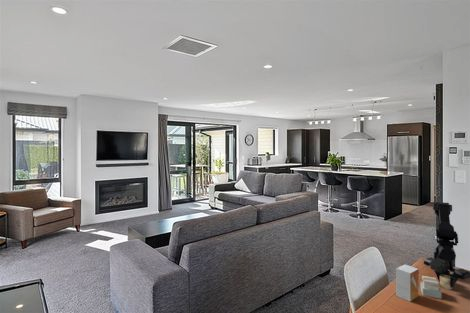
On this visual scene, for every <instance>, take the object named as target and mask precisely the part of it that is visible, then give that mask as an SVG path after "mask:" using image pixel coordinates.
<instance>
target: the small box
mask: <svg viewBox="0 0 470 313" xmlns="http://www.w3.org/2000/svg"><path fill="white" fill-rule="evenodd" d="M395 272H396V275H395V277H396V278H395V283H396V284H395V285H396V286H395V288H396V289H395V293H396V294H395V295H396V297H398V298H400V299H402V300H405V301H408V302H412V301H413V300H415V299H417V298H418V297H419V277H420V276H419V268H416V267H414V266H411V265H408V264H403V265H400V266H399V267H396V270H395Z"/></svg>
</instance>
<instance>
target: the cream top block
mask: <svg viewBox="0 0 470 313" xmlns="http://www.w3.org/2000/svg"><path fill="white" fill-rule="evenodd" d="M421 282H422V284H423V286H424V288H426V289H432V290H438V291H439V288H440V282H439V280H438V278H437V277H434V276H433V277H431V276H426V275H421Z"/></svg>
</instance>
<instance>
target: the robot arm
mask: <svg viewBox="0 0 470 313" xmlns="http://www.w3.org/2000/svg"><path fill="white" fill-rule="evenodd" d="M432 210H433V211H434V215H435V216H436V218H437V229H435V236H436V237H435V238H436V243H437V244H438V245H437V246H436V248H435V251H434V252H433V257H428V258H427V257H426V258H424V259H423V265H426V266H428V267H429V268H430V269H431V270H432V271H434V273H435V275H436V279H437V281H438V283H440V275H448V276H450V278H451V279H450V285H451V288H454V286H455V285H456V284H457V282H458V280H459V279H460V280H468V279H470V270H467V269H464V268H458V269H457V268H456V260H457V259H456V257H457V255H456V252H455V251H456V250H455V249H454V247H455V246H458V244H459V234H458V232H457V231H455V227H454V225H452V224H451V220H450V218H451V217H450V215H451V212H453V204H451V203H449V202H443V201H442V202H440V201H435V203H432Z"/></svg>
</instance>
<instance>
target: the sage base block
mask: <svg viewBox="0 0 470 313" xmlns="http://www.w3.org/2000/svg"><path fill="white" fill-rule="evenodd" d="M420 290H421V294H422V296H424V297H429V298H434V299H435V298H436V299H440V300H441V299H442V291H441V287H439V291H438V290H432V289H426V288H424V286H423V284H422V281H420Z"/></svg>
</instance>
